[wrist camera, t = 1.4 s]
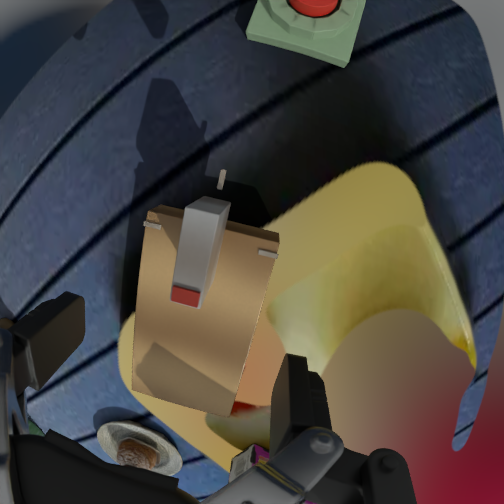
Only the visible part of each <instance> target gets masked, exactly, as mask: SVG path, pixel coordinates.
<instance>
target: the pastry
mask: <svg viewBox="0 0 504 504" xmlns="http://www.w3.org/2000/svg"><path fill="white" fill-rule="evenodd" d="M97 438H98V441H99V443H100V445H101V447H102V449H103V450H104V451H105V452H106V453H107V454H108V455H109V456H110V457H111V458H112V459H113V460H114V461H116V462H117V463H119V464H120V465H123V466H130V467H137V468H144V469H147V470H151V471H154V472H157V473H160V474H164V475H167V476H171V475H174V474H175V473H177V472H179V471H180V469H181V468H182V463H183V461H182V458H181V456H180V454H179V453H178V451H177V449H176V448H175V446H174V445H173V444H171V442H169V441H168V438H166V437H164V434H162V433H159V432H158V431H155V430H151V429H149V428H148V427H145V426H143V425H142V424H140V423H137V422H133V421H131V420H124V421H116V422H115V421H113V422H109V423H106V424H103V425H102V426H101V427H100V428H99V430H98V432H97Z"/></svg>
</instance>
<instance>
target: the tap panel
mask: <svg viewBox="0 0 504 504" xmlns="http://www.w3.org/2000/svg"><path fill="white" fill-rule="evenodd" d="M226 171H227V170H223V169H221V173H220V177H219V181H218V186H217V189H220V190H222V188H223V184H224V179H225V175H226ZM184 211H185V210H182V209H178V208H173V207H169V206H165V205H159V206H157V207H155V208H153V209H151V210H148V213H147V219H146V221H144V224H143V226H145V233H144V240H143V247H142V255H141V263H140V272H139V281H138V291H137V302H136V314H135V327H134V343H133V363H132V390H134V391H137V392H140V393H144V394H146V395H149V396H152V397H155V398H159V399H162V400H165V401H168V402H172V403H175V404H179V405H182V406H186V407H189V408H193V409H197V410H200V411H204V412H208V413H212V414H216V415H221V416H225V417H230V413H231V410H232V407H233V403H234V400H235V397H236V393H237V390H238V387H239V384H240V380H241V377H242V374H243V370H244V367H245V363H246V360H247V356H248V353H249V350H250V346H251V343H252V340H253V336H254V332H255V329H256V326H257V322H258V319H259V315H260V312H261V308H262V305H263V301H264V298H265V294H266V291H267V287H268V284H269V279H270V276H271V272H272V269H273V266H274V262H275V259H277V257H278V254H277V251H278V247H279V244H280V243H279V233H276V232H272V231H268V230H264V229H260V228H256V227H252V226H248V225H244V224H240V223H236V222H232V221H228V220H227V222H226V227H225V231H224V236H223V240H222V245H221V250H220V254H219V259H218V263H217V268H216V273H215V277H214V281H213V283H212V285H211V287H210V289H209V291H208V293H207V295H206V297H205V300H204V302H203V304H202V306H201V308H200V309H197V308H193V307H189V306H186V305H182V304H178V303H175V302H171V301H170V293H171V287H172V280H173V274H174V268H175V261H176V255H177V250H178V244H179V238H180V232H181V227H182V222H183V216H184Z"/></svg>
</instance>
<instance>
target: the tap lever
mask: <svg viewBox="0 0 504 504" xmlns="http://www.w3.org/2000/svg"><path fill="white" fill-rule="evenodd" d="M230 205H231V202H228V201H224V200H219V199H215V198H211V197H206V196H203V197H202V198H200V199H198V200H196V201H195V202H193V203H191V204H190V205H188V206H186V207H185V211H184V216H183V222H182V227H181V232H180V238H179V244H178V250H177V255H176V261H175V268H174V274H173V280H172V287H171V293H170V301H171V302H175V303H178V304H182V305H186V306H189V307H193V308H197V309H200V308H201V306H202V304H203V302H204V300H205V297H206V295H207V293H208V291H209V289H210V287H211V285H212V283H213V281H214V277H215V273H216V268H217V263H218V259H219V254H220V250H221V245H222V240H223V236H224V231H225V227H226V222H227V218H228V214H229V209H230Z"/></svg>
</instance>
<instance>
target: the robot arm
mask: <svg viewBox="0 0 504 504" xmlns="http://www.w3.org/2000/svg"><path fill="white" fill-rule="evenodd" d="M84 335H85V301H84V298H83V297H82V296H79V295H76V294H73V293H71V292H68V291H66V292H64V293H63V294H61V295H60V296H59V297H57V298H56V299H51V300H48V301H45V302H42V303H41V304H40V305H38V306H37V307H36V308H35V309H34V310H32V311H30V312H29V313H28V315H25V316H24V317H23V318H21V319H20V320H19V321H17V322H16V323H15V324H14V325H12V326H11V327H10V328H8V329H7V330H6V329H4V328H0V504H303V503H304V502H305V501H306V500H307V501H310V502H313V503H316V504H417V502H416V498H415V494H414V489H413V485H412V481H411V477H410V473H409V469H408V465H407V463H406V461H405V459H404V458H403V457H402V456H401V455H400V454H399V453H398V452H396V451H394V450H391V449H386V448H381V449H376V450H374V451H373V452H372V453H371V454H370V455H369V456H367V455H364V454H360V453H357V452H354V451H351V450H349V449H347V448H345V447H344V444H343V441H342V439H341V438H340V437H339V436H338V435H337V434H336V433H335V432H333V431H332V426H331V420H330V414H329V408H328V402H327V397H326V394H325V392H326V391H325V386H324V382H323V380H322V379H321V377H320V376H319V375H318V373H317V372H312V371H308V365H307V358H306V357H303V356H298V355H293V354H288V353H286V355H285V357H284V359H283V362H282V365H281V368H280V370H279V373H278V376H277V379H276V381H275V384H274V388H273V392H272V398H271V424H270V451H269V461H268V462H266V463H265V464H262V463H261V462H259V463H257V464H255V465H253V466H252V467H251V468H249V469H248V470H246V471H245V472H244V473H242V474H241V475H240V476H238V477H237V478H235V479H234V480H233V481H231V482H230V483H228V484H227V485H226V486H224V487H223V488H221V489H220V490H218V491H217V492H215V493H214V494H212V495H211V496H209V497H208V498H206V499H205V500H203V501H202V502H199V501H198V500H197V499H195V498H194V497H193V496H191V495H190V494H188V493H187V492H185V491H183V490H181V489H179V488H178V482H179V479H178V478H174V477H171V476H167V475H164V474H160V473H157V472H154V471H151V470H147V469H144V468H137V467H130V466H123V465H116V464H110V463H107V462H105V461H103V460H101V459H100V458H98V457H97V456H96V455H94V454H93V453H91V452H90V451H89V450H87V449H86V448H84V447H83V446H82V445H80V444H79V443H78V442H76V441H74V440H71V439H69V438H67V437H65V436H63V435H61V434H59V433H57V432H55V431H53V430H51V429H49V430H48V432H47V433H46V435H45V436H41V435H35V434H30V432H29V424H28V414H27V402H26V393H25V389H26V388H27V387H28V386H30V387H32V388H33V389H35V390H37V391H39V390H40V389H41V388H42V387H43V386H44V384H45V383H46V382H47V381H48V380H49V379H50V378H51V376H52V375H53V374H54V373H55V372H56V371H57V370H58V369H59V367H60V366H61V365H62V364H63V363H64V362H65V361H66V360H67V358H68V357H69V356H70V355H71V354H72V353H73V352H74V351H75V350H76V349H77V347H78V346H79V345H80V344H81V343H82V341H83V339H84Z"/></svg>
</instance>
